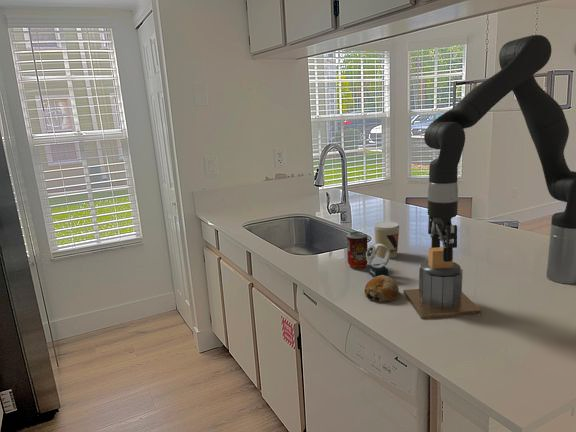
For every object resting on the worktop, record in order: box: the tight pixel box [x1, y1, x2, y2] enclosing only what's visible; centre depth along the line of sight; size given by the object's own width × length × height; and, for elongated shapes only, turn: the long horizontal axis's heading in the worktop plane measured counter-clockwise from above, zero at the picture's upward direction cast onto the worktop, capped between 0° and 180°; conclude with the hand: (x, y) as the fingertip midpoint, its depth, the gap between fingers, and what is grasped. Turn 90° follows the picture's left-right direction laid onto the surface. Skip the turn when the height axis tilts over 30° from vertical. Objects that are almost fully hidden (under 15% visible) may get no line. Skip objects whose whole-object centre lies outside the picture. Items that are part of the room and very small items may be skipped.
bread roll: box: [364, 275, 400, 303], centre depth 127 cm, size 10×10×8 cm
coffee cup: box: [373, 221, 400, 259], centre depth 161 cm, size 9×9×12 cm
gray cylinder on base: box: [402, 266, 482, 320], centre depth 119 cm, size 16×16×10 cm
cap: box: [420, 246, 462, 277], centre depth 117 cm, size 10×10×8 cm
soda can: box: [346, 231, 368, 270], centre depth 151 cm, size 7×7×12 cm
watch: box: [366, 243, 391, 278], centre depth 141 cm, size 6×8×11 cm
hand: (441, 255), depth 117 cm, fingers open, 8 cm apart
